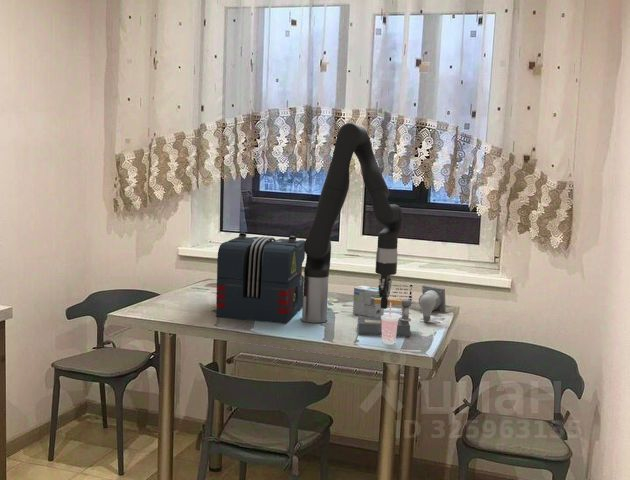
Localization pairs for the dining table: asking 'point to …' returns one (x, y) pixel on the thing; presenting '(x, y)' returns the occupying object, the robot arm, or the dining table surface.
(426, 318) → the lightbulb
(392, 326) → the beverage cup
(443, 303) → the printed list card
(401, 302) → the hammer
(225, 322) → the dining table surface
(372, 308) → the light bulb box
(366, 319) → the grey rectangular block
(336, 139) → the robot arm
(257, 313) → the power unit
